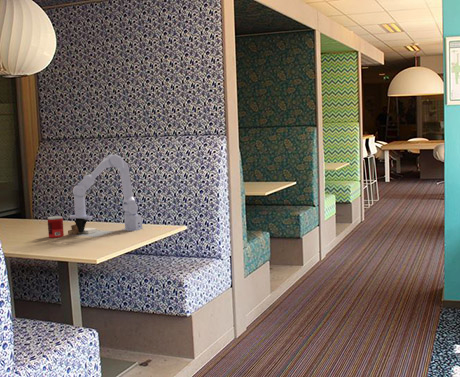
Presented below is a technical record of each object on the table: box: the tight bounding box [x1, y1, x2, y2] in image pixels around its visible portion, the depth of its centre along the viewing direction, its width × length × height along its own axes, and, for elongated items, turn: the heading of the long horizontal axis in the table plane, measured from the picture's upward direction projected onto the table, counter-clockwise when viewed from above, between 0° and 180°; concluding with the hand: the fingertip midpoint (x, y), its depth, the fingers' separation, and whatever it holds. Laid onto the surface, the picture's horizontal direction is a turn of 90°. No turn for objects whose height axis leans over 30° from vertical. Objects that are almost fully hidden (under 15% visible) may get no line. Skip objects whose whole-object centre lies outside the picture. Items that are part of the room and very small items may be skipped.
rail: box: [67, 229, 74, 236], centre depth 342 cm, size 2×7×2 cm, turn 152°
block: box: [70, 223, 79, 236], centre depth 340 cm, size 4×4×5 cm
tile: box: [82, 227, 98, 234], centre depth 344 cm, size 2×7×7 cm
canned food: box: [47, 215, 65, 239], centre depth 335 cm, size 8×8×11 cm
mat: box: [73, 229, 116, 238], centre depth 342 cm, size 20×17×1 cm
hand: (81, 232), depth 339 cm, fingers closed
